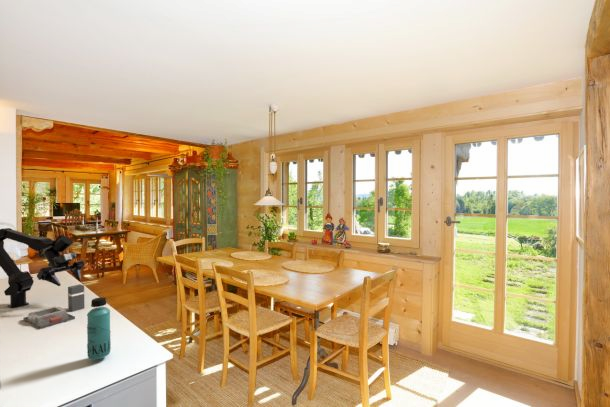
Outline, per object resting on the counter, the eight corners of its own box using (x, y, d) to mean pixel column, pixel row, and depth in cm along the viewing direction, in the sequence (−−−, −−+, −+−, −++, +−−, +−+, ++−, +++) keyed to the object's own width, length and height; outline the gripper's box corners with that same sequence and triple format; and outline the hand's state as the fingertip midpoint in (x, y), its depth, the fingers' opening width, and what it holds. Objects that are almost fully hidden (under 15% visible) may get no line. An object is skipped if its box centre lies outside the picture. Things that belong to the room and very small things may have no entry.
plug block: (68, 310, 146) (67, 286, 145) (80, 306, 150) (80, 284, 150) (72, 311, 143) (71, 288, 143) (84, 308, 148) (84, 285, 148)
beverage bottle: (94, 354, 104) (93, 295, 104) (115, 353, 104) (114, 294, 104) (82, 365, 97) (81, 302, 97) (104, 364, 98) (103, 301, 98)
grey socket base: (23, 320, 134) (23, 313, 134) (56, 311, 144) (56, 304, 144) (40, 329, 125) (40, 321, 125) (74, 318, 135) (74, 312, 135)
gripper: (40, 250, 141) (56, 276, 137) (82, 244, 158) (97, 267, 155) (29, 266, 144) (45, 292, 140) (72, 259, 161) (87, 282, 158)
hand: (70, 282), depth 148 cm, fingers open, 9 cm apart
